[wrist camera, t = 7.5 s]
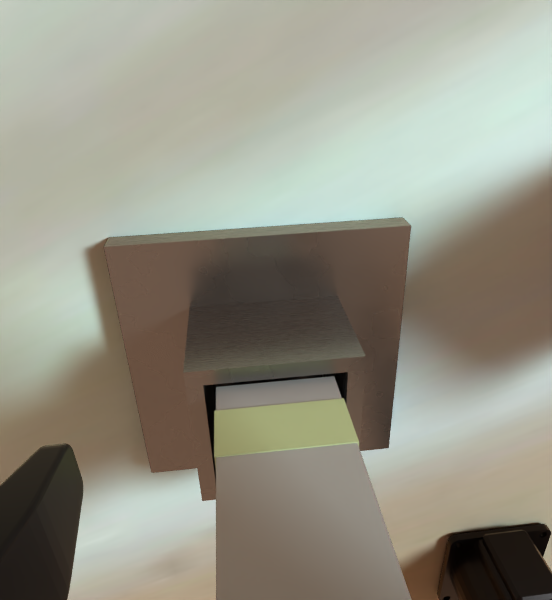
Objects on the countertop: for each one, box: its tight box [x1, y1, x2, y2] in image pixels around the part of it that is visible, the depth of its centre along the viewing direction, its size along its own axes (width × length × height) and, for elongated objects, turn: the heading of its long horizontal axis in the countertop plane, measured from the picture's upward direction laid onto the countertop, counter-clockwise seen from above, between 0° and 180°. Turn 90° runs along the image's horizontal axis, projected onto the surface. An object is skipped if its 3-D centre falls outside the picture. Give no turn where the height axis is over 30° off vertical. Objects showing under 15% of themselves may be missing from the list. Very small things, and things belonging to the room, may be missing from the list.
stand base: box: [104, 218, 411, 501], centre depth 20 cm, size 12×12×6 cm
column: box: [214, 376, 411, 600], centre depth 15 cm, size 4×4×9 cm
